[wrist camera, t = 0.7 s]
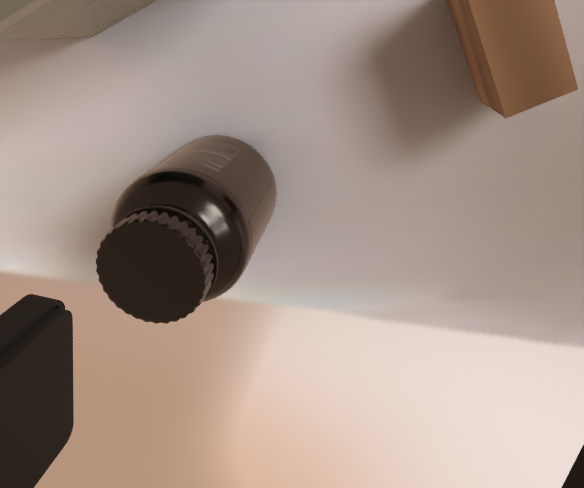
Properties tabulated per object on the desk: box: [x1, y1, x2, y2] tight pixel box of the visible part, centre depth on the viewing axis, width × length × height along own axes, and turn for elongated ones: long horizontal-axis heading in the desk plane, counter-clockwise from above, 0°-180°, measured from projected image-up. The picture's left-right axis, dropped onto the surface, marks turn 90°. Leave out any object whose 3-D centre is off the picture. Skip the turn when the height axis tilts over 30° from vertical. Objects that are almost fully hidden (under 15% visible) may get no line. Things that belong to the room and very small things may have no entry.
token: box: [448, 0, 578, 118], centre depth 24 cm, size 3×6×6 cm, turn 25°
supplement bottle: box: [96, 135, 276, 323], centre depth 27 cm, size 7×7×12 cm
